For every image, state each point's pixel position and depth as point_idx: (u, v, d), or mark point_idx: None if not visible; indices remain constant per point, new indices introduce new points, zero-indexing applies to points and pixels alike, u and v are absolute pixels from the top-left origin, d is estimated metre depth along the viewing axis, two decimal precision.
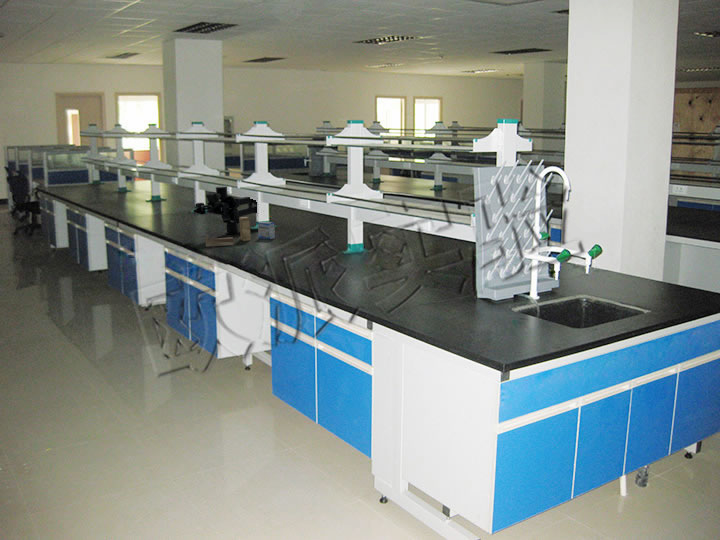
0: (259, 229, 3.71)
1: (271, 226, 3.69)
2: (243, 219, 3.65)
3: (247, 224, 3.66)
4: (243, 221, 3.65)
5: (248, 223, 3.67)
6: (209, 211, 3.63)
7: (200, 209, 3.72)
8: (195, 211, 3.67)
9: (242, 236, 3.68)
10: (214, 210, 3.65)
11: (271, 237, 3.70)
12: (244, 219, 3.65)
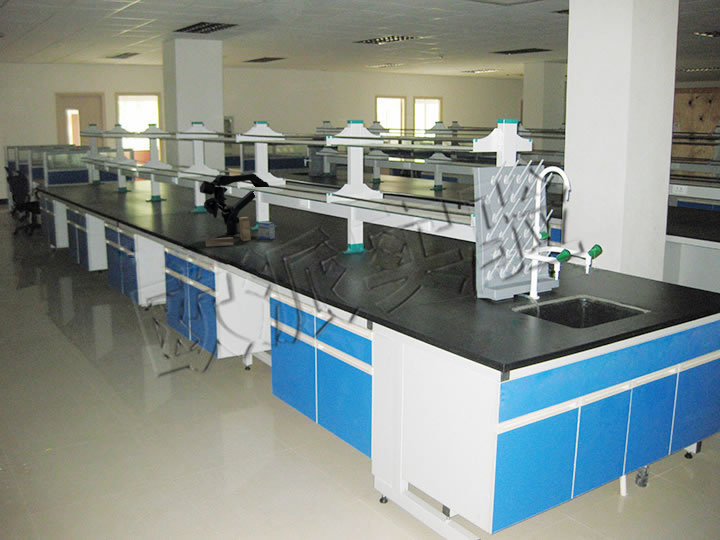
0: (259, 229, 3.71)
1: (271, 226, 3.69)
2: (243, 219, 3.65)
3: (247, 224, 3.66)
4: (243, 221, 3.65)
5: (248, 223, 3.67)
6: (215, 215, 3.69)
7: (225, 215, 3.79)
8: (225, 222, 3.76)
9: (242, 236, 3.68)
10: (213, 209, 3.69)
11: (271, 237, 3.70)
12: (244, 219, 3.65)
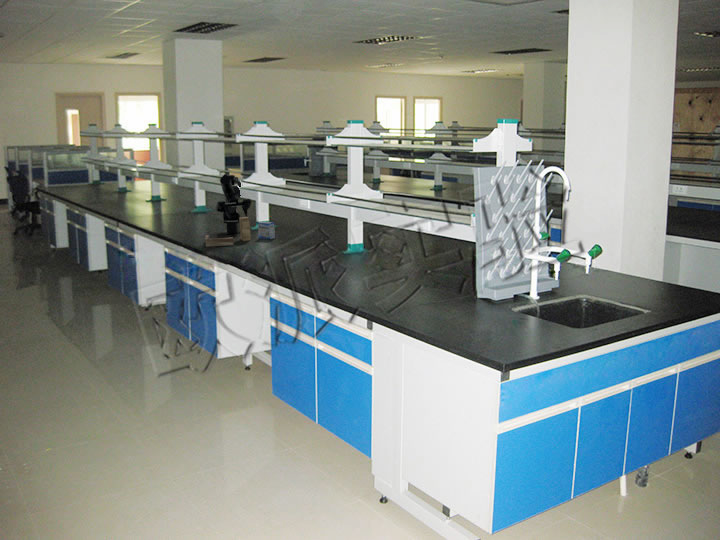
0: (259, 229, 3.71)
1: (271, 226, 3.69)
2: (243, 219, 3.65)
3: (247, 224, 3.66)
4: (243, 221, 3.65)
5: (248, 223, 3.67)
6: (228, 216, 3.68)
7: (243, 208, 3.75)
8: (245, 214, 3.73)
9: (242, 236, 3.68)
10: (225, 211, 3.69)
11: (271, 237, 3.70)
12: (244, 219, 3.65)
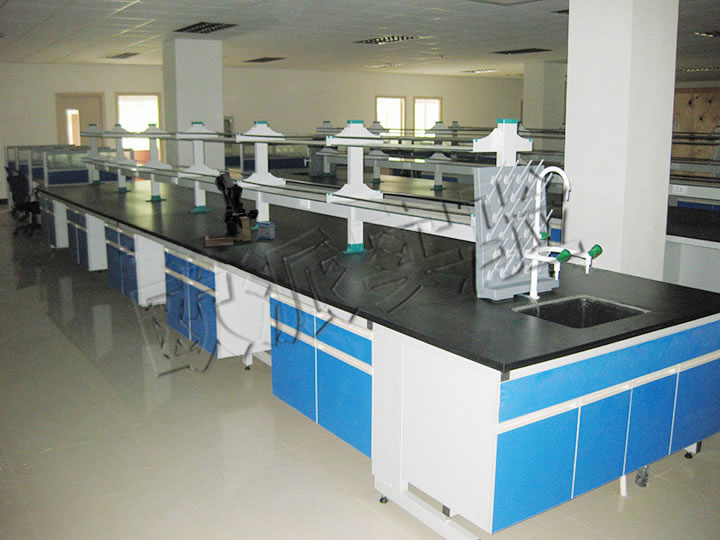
0: (259, 229, 3.71)
1: (271, 226, 3.69)
2: (243, 219, 3.65)
3: (247, 224, 3.66)
4: (243, 221, 3.65)
5: (248, 223, 3.67)
6: (240, 226, 3.66)
7: None
8: None
9: (242, 236, 3.68)
10: (237, 221, 3.67)
11: (271, 237, 3.70)
12: (244, 219, 3.65)
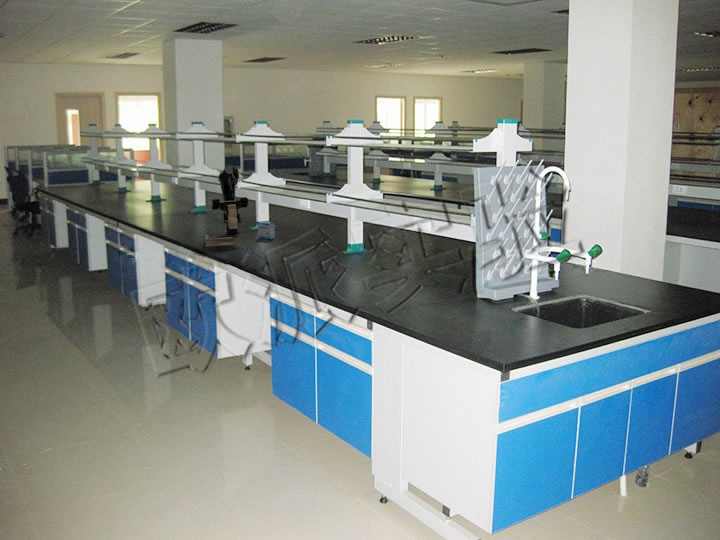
0: (259, 229, 3.71)
1: (271, 226, 3.69)
2: (229, 206, 3.57)
3: (233, 211, 3.58)
4: (229, 209, 3.57)
5: (235, 211, 3.59)
6: (227, 214, 3.59)
7: None
8: None
9: (229, 224, 3.60)
10: (224, 209, 3.60)
11: (271, 237, 3.70)
12: (230, 207, 3.57)
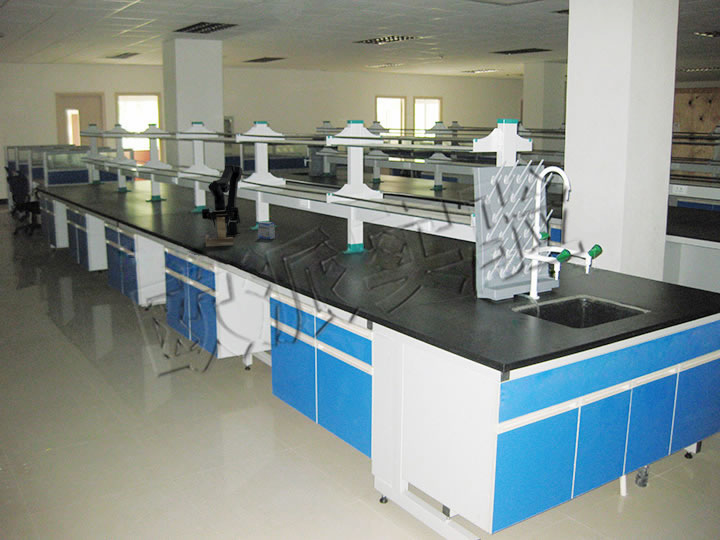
0: (259, 229, 3.71)
1: (271, 226, 3.69)
2: (218, 219, 3.56)
3: (222, 224, 3.57)
4: (218, 221, 3.56)
5: (223, 224, 3.57)
6: (213, 224, 3.57)
7: None
8: (227, 223, 3.58)
9: (218, 237, 3.59)
10: (212, 219, 3.58)
11: (271, 237, 3.70)
12: (219, 219, 3.56)
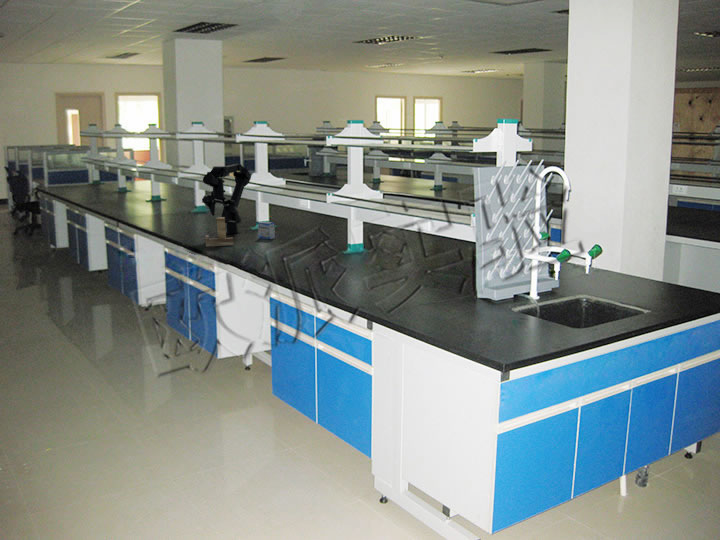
0: (259, 229, 3.71)
1: (271, 226, 3.69)
2: (218, 219, 3.55)
3: (222, 224, 3.56)
4: (218, 222, 3.56)
5: (223, 224, 3.57)
6: (212, 213, 3.65)
7: (226, 208, 3.74)
8: (226, 216, 3.72)
9: (218, 237, 3.59)
10: (211, 207, 3.65)
11: (271, 237, 3.70)
12: (219, 220, 3.56)
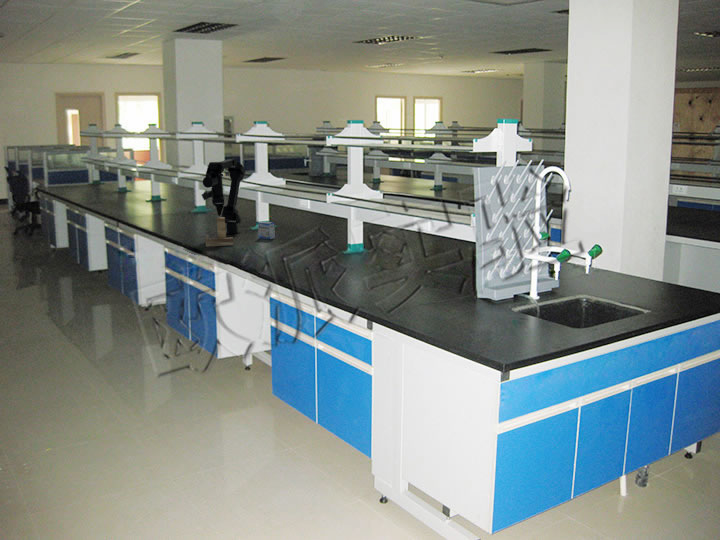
0: (259, 229, 3.71)
1: (271, 226, 3.69)
2: (218, 219, 3.55)
3: (222, 224, 3.56)
4: (218, 222, 3.56)
5: (223, 224, 3.57)
6: (219, 213, 3.68)
7: None
8: None
9: (218, 237, 3.59)
10: (219, 207, 3.67)
11: (271, 237, 3.70)
12: (219, 220, 3.56)
